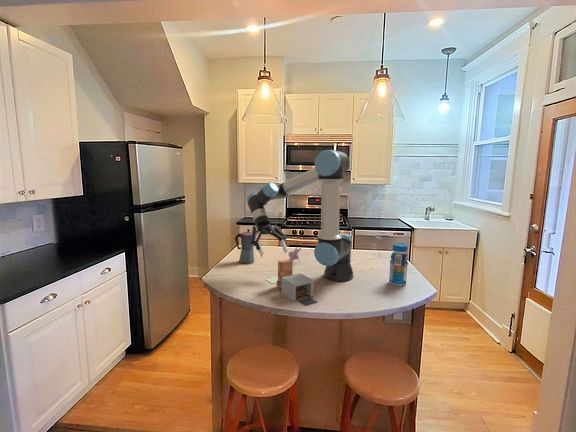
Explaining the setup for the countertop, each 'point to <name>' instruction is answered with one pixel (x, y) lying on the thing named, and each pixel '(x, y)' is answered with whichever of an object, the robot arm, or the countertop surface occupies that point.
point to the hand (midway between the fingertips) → (274, 253)
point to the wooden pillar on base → (286, 270)
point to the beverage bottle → (398, 264)
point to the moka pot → (246, 247)
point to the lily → (294, 254)
